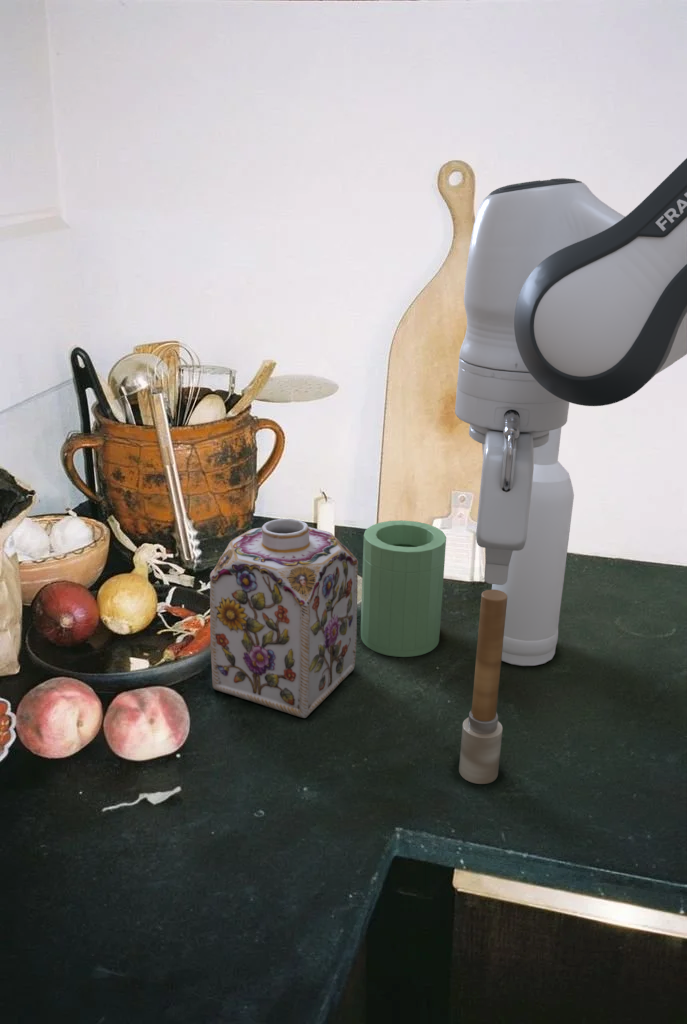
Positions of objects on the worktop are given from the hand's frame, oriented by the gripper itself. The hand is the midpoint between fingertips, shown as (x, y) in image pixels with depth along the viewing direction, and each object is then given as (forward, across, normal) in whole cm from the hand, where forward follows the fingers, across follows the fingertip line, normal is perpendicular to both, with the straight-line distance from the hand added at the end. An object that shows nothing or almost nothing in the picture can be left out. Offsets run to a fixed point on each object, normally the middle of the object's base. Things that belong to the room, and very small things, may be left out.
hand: (496, 556), depth 79 cm
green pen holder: (+22, +24, +10) cm, 34 cm away
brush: (+22, 0, 0) cm, 22 cm away
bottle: (+22, +24, -4) cm, 33 cm away
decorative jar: (+22, +12, +21) cm, 33 cm away
